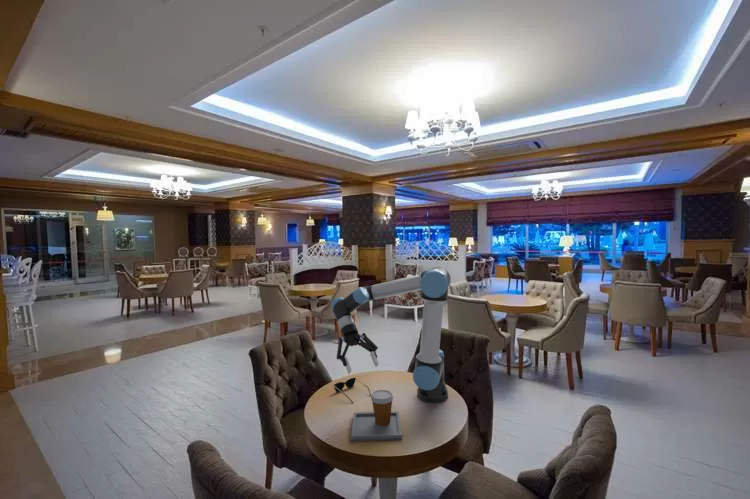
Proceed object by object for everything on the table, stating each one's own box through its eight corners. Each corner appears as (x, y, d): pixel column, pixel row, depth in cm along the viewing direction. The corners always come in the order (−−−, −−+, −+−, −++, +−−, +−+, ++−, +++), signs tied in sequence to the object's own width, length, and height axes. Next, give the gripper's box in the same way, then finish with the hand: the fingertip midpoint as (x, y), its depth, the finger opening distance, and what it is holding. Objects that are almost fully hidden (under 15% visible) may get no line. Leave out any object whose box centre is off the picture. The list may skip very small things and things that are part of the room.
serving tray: (398, 415, 157) (398, 411, 157) (402, 439, 138) (402, 434, 138) (353, 416, 157) (353, 412, 156) (351, 441, 138) (351, 436, 138)
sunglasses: (355, 385, 189) (355, 376, 189) (373, 398, 177) (373, 388, 176) (333, 393, 181) (333, 384, 180) (350, 407, 168) (350, 397, 168)
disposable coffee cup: (392, 428, 144) (391, 400, 144) (369, 426, 146) (368, 398, 146) (395, 416, 154) (394, 389, 153) (374, 415, 156) (373, 388, 155)
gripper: (367, 327, 176) (384, 366, 164) (321, 336, 163) (335, 379, 151) (373, 319, 171) (390, 358, 159) (325, 327, 158) (340, 371, 146)
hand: (363, 368), depth 155 cm, fingers open, 13 cm apart
